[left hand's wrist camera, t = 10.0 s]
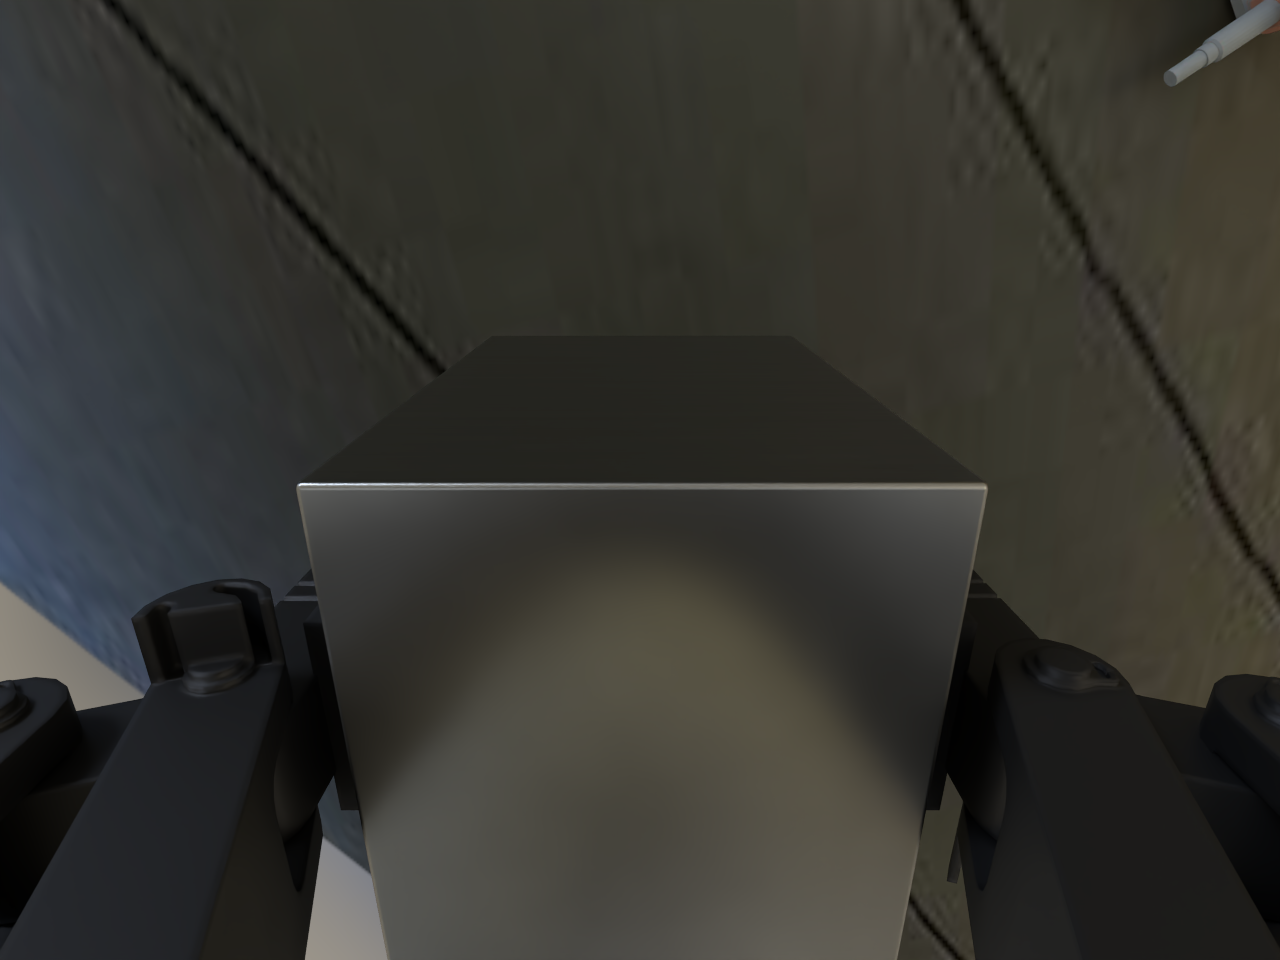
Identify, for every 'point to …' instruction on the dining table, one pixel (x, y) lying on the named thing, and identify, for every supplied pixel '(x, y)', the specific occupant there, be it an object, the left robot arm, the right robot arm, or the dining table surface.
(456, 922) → the bar
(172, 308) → the dining table surface
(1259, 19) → the clamp
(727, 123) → the dining table surface
